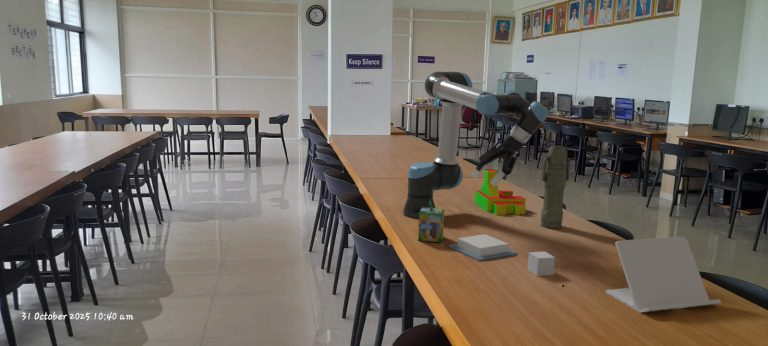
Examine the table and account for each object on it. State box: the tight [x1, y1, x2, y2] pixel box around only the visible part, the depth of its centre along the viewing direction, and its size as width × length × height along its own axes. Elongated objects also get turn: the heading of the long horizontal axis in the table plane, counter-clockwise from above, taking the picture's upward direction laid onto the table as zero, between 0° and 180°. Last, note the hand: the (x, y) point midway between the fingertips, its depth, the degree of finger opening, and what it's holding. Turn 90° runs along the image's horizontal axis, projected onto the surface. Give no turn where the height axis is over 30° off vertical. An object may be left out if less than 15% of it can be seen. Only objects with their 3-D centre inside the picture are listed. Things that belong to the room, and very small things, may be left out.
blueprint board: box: [447, 243, 519, 262], centre depth 200 cm, size 18×18×1 cm
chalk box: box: [417, 201, 445, 243], centre depth 212 cm, size 9×9×15 cm
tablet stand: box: [605, 236, 722, 314], centre depth 157 cm, size 18×25×17 cm
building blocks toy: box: [474, 169, 527, 216], centre depth 265 cm, size 19×25×18 cm
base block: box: [456, 233, 509, 256], centre depth 200 cm, size 13×13×3 cm
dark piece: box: [540, 144, 572, 230], centre depth 234 cm, size 9×12×35 cm
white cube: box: [527, 251, 556, 277], centre depth 179 cm, size 6×6×6 cm
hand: (483, 180), depth 216 cm, fingers open, 13 cm apart
